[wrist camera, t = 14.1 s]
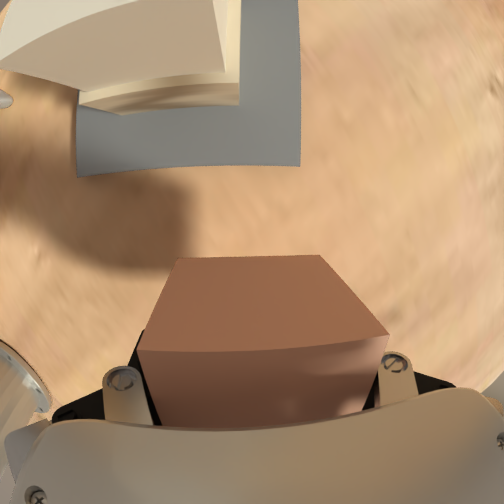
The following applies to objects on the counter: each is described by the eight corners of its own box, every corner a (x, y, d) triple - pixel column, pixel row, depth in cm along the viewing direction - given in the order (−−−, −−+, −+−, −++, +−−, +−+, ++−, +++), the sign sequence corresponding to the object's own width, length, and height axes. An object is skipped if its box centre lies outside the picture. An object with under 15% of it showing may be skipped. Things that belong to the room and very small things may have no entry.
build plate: (86, 175, 15) (77, 177, 14) (101, 4, 11) (95, -2, 10) (296, 165, 16) (300, 166, 15) (292, -15, 11) (295, -24, 10)
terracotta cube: (192, 366, 13) (181, 466, 7) (177, 258, 11) (136, 349, 5) (306, 361, 13) (340, 453, 8) (319, 254, 12) (389, 334, 6)
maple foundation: (122, 115, 13) (78, 104, 9) (131, 20, 11) (100, -13, 6) (239, 105, 14) (238, 82, 9) (241, 7, 11) (242, -37, 7)
